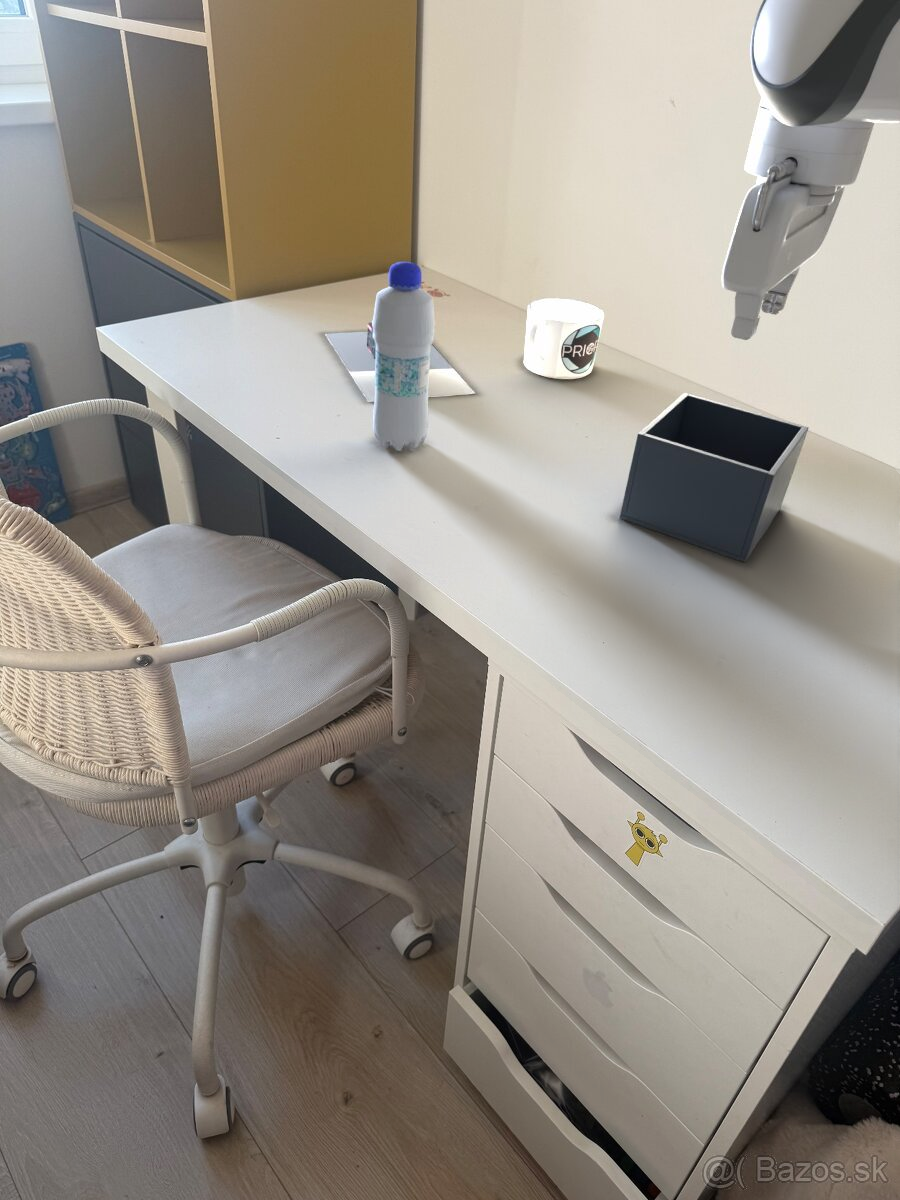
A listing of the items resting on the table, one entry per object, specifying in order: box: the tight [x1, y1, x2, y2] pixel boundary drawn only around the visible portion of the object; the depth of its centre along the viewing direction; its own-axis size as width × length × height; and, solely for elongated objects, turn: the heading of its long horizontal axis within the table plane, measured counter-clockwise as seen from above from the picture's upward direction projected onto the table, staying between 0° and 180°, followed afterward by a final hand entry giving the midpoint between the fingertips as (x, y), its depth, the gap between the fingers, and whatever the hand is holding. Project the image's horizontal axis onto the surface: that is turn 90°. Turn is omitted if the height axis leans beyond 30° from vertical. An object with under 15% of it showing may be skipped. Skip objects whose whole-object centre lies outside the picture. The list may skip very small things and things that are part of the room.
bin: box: [619, 392, 810, 563], centre depth 84 cm, size 13×13×10 cm
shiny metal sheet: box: [324, 321, 476, 403], centre depth 115 cm, size 14×25×4 cm, turn 19°
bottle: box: [371, 261, 436, 452], centre depth 90 cm, size 7×7×20 cm
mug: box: [523, 297, 605, 380], centre depth 115 cm, size 13×10×8 cm
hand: (757, 323), depth 75 cm, fingers open, 8 cm apart
